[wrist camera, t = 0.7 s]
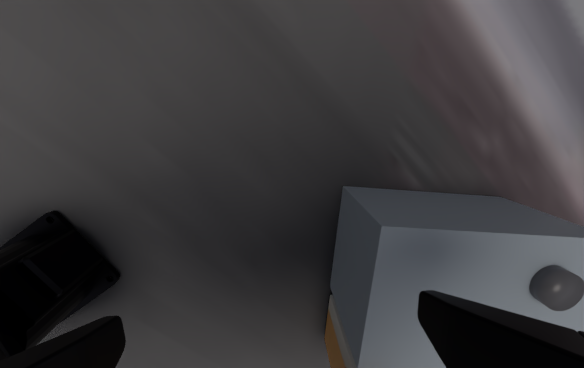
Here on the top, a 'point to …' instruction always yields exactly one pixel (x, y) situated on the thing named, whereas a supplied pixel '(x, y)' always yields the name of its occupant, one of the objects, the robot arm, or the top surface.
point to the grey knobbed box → (446, 266)
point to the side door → (337, 339)
